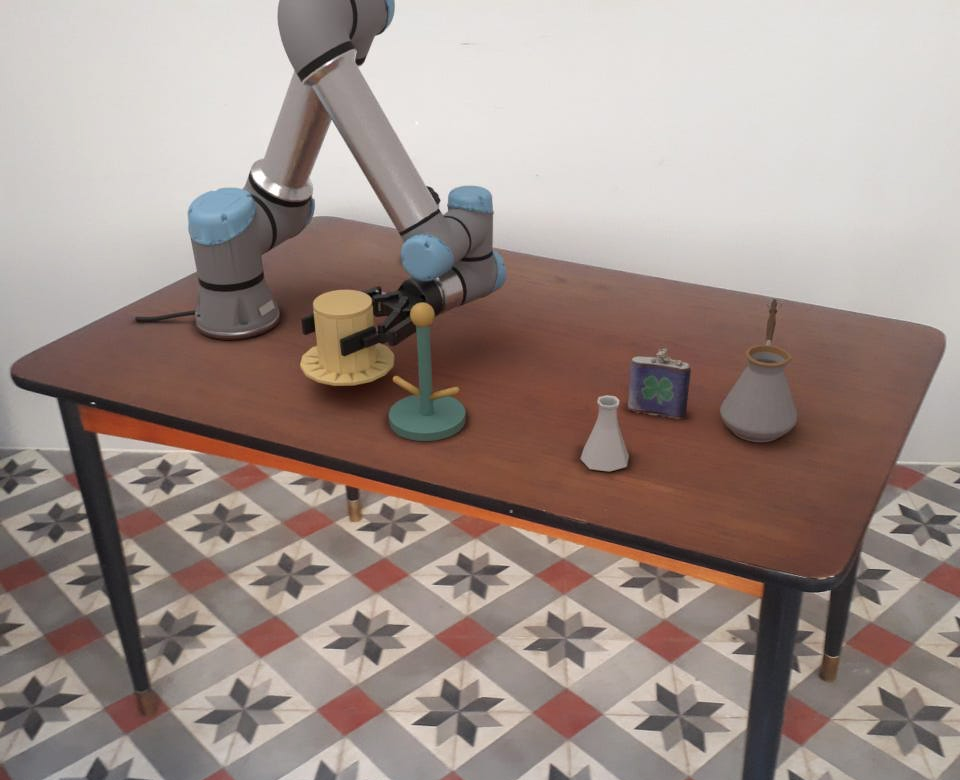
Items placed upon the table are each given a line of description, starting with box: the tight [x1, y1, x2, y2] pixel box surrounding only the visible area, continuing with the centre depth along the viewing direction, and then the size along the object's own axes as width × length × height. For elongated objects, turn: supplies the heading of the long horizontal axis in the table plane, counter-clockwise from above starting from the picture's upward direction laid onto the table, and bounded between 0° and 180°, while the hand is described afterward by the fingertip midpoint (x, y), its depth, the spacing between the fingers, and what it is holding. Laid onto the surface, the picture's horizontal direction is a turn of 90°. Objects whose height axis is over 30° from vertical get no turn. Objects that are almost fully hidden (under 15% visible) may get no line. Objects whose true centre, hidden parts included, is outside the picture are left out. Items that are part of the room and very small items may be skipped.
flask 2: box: [627, 348, 692, 420], centre depth 162 cm, size 9×3×11 cm, turn 71°
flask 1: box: [580, 394, 630, 472], centre depth 151 cm, size 7×7×10 cm
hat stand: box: [388, 302, 467, 442], centre depth 158 cm, size 12×12×20 cm
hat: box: [299, 289, 395, 387], centre depth 167 cm, size 15×15×11 cm
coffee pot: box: [719, 299, 798, 443], centre depth 160 cm, size 21×12×15 cm, turn 164°
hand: (322, 337), depth 164 cm, fingers closed on hat, 9 cm apart
